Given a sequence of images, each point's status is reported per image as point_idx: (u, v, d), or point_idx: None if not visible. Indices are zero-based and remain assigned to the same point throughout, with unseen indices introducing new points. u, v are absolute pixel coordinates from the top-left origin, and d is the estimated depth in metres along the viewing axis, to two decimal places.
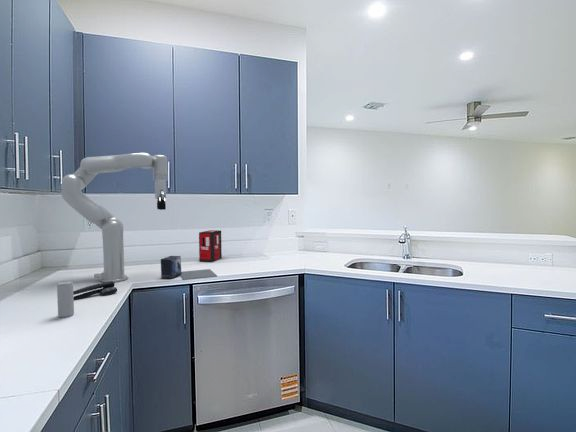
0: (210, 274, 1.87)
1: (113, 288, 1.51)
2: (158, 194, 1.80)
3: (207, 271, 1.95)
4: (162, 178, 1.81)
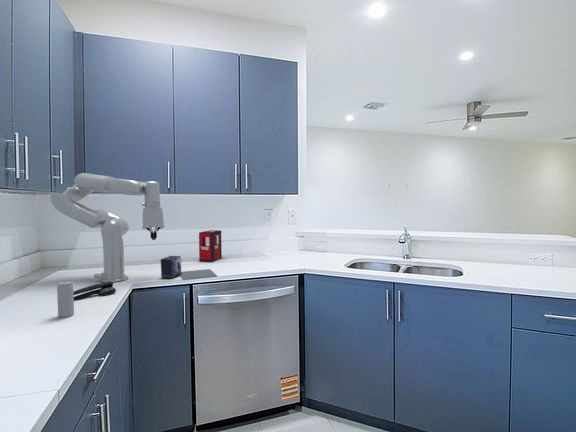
0: (210, 274, 1.87)
1: (112, 288, 1.50)
2: (163, 221, 1.79)
3: (207, 271, 1.95)
4: None
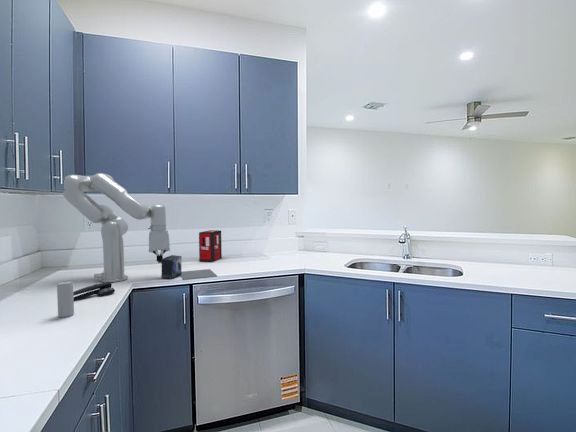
0: (210, 274, 1.87)
1: (111, 288, 1.50)
2: (169, 244, 1.80)
3: (207, 271, 1.95)
4: None
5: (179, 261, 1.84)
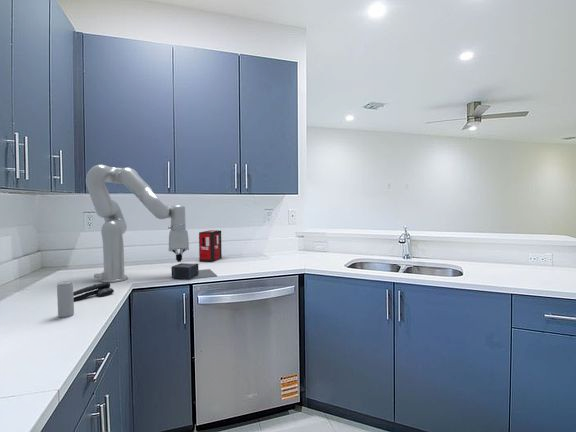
0: (210, 274, 1.87)
1: (110, 289, 1.49)
2: (188, 244, 1.85)
3: (207, 271, 1.95)
4: None
5: None
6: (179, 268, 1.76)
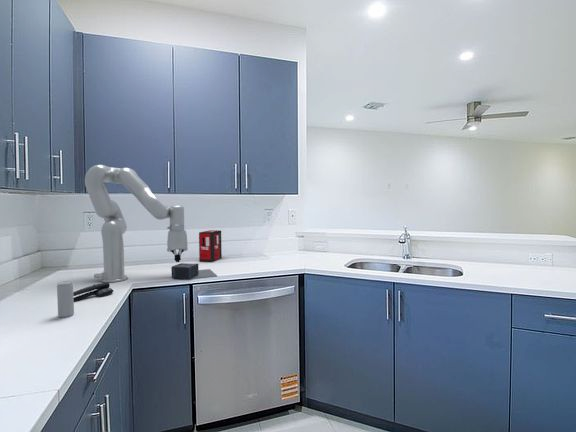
0: (210, 274, 1.87)
1: (109, 289, 1.49)
2: None
3: (207, 271, 1.95)
4: None
5: None
6: (179, 268, 1.76)
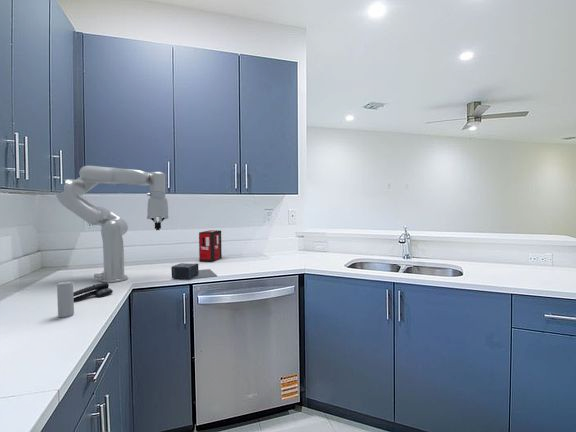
0: (210, 274, 1.87)
1: (108, 289, 1.49)
2: None
3: (207, 271, 1.95)
4: None
5: None
6: (179, 268, 1.76)
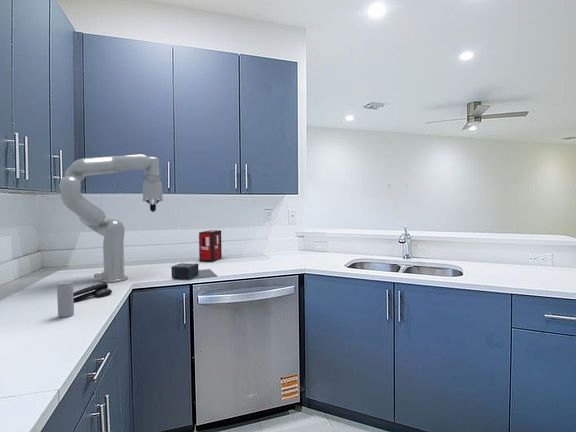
0: (210, 274, 1.87)
1: (108, 289, 1.49)
2: None
3: (207, 271, 1.95)
4: None
5: None
6: (179, 268, 1.76)
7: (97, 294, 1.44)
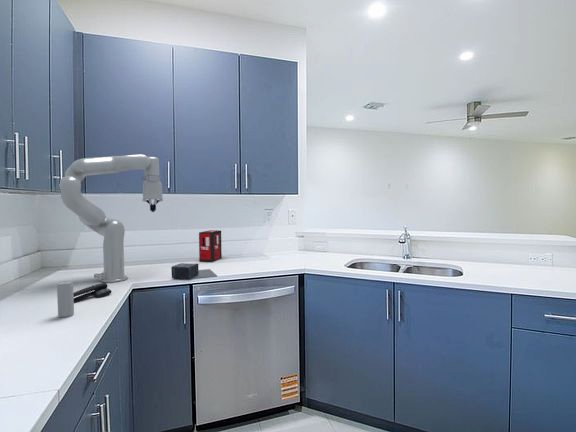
0: (210, 274, 1.87)
1: (107, 289, 1.48)
2: None
3: (207, 271, 1.95)
4: None
5: None
6: (179, 268, 1.76)
7: (97, 294, 1.44)
